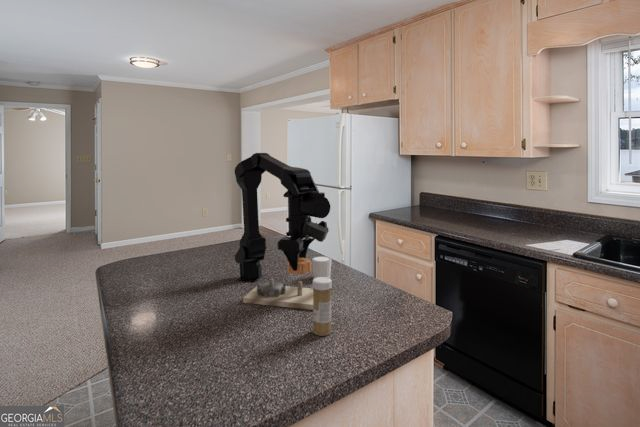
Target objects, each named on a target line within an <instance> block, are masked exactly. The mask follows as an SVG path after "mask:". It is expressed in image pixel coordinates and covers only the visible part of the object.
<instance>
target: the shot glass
mask: <svg viewBox="0 0 640 427" xmlns="http://www.w3.org/2000/svg"><path fill="white" fill-rule="evenodd" d="M332 260H333V259H332V257H330V256H324V255H321V256H314V257H312V258H311V266H312V272H313V273H312V275H313V279H314V278H317V277H327V278H330V279H331V272H332V271H331V270H332V262H333V261H332Z"/></svg>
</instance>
